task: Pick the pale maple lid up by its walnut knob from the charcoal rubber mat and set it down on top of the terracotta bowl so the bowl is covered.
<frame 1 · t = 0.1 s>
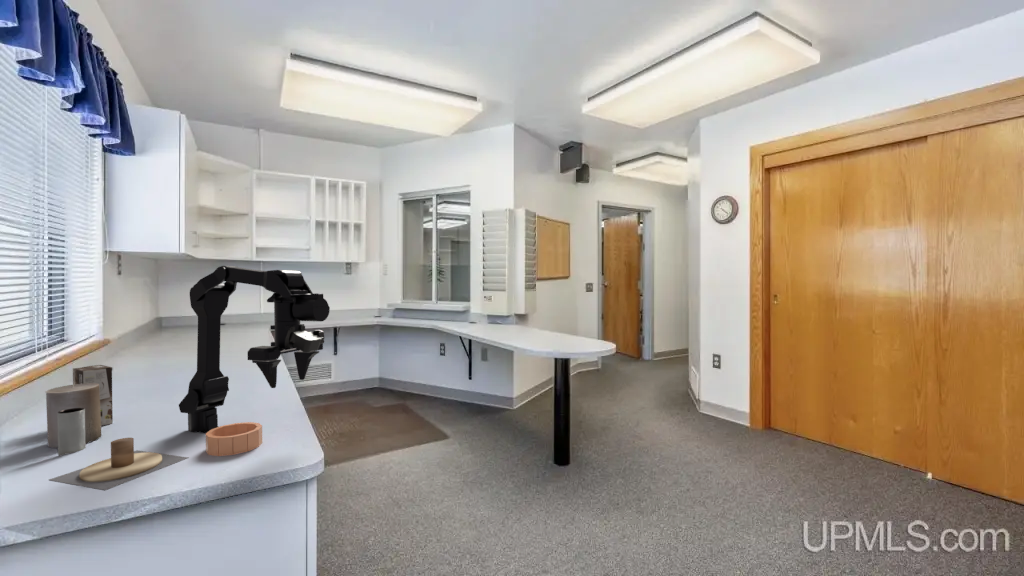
hand: (288, 383, 110), 15 cm above the counter, fingers open, 9 cm apart
bowl: (234, 450, 105), on the counter
coffee box: (93, 424, 126), on the counter
mat: (122, 472, 93), on the counter
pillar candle: (74, 442, 112), on the counter
lid: (122, 468, 93), point 1 cm above the counter, touching mat
planter: (72, 455, 103), on the counter
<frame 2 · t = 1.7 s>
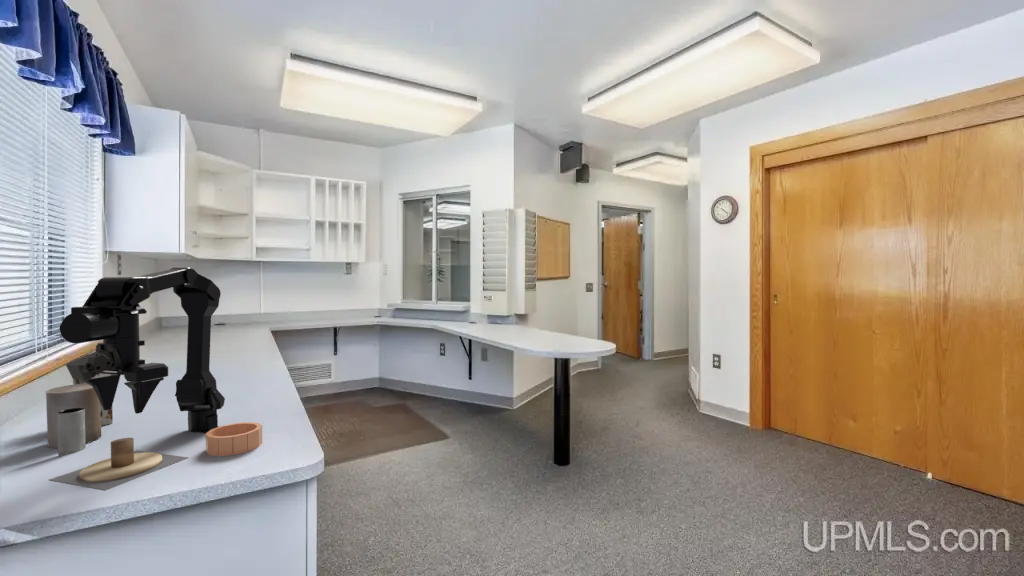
hand: (122, 411, 93), 13 cm above the counter, fingers open, 9 cm apart
nothing on the counter moved.
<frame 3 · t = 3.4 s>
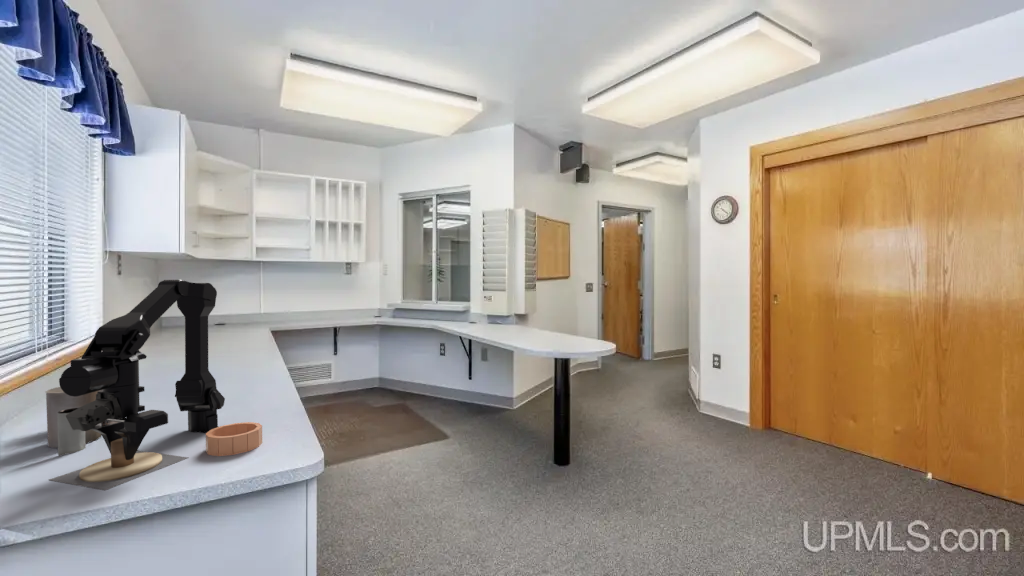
hand: (122, 458, 93), 3 cm above the counter, fingers closed on lid, 4 cm apart
lid: (122, 468, 93), point 1 cm above the counter, touching gripper, mat
everything else where it was.
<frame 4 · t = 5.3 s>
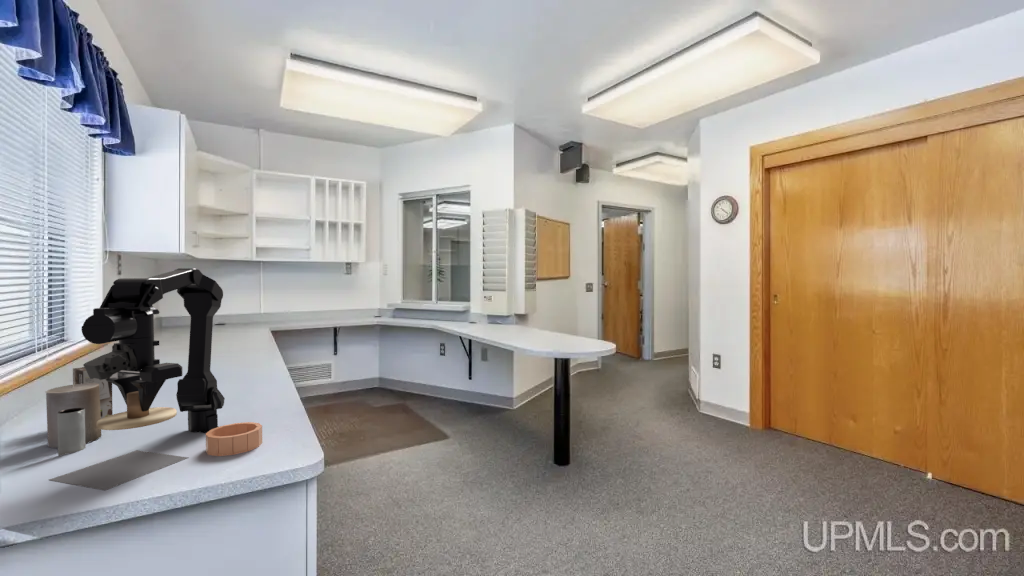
hand: (138, 410, 95), 13 cm above the counter, fingers closed on lid, 4 cm apart
lid: (138, 419, 95), point 11 cm above the counter, touching gripper
everything else where it was.
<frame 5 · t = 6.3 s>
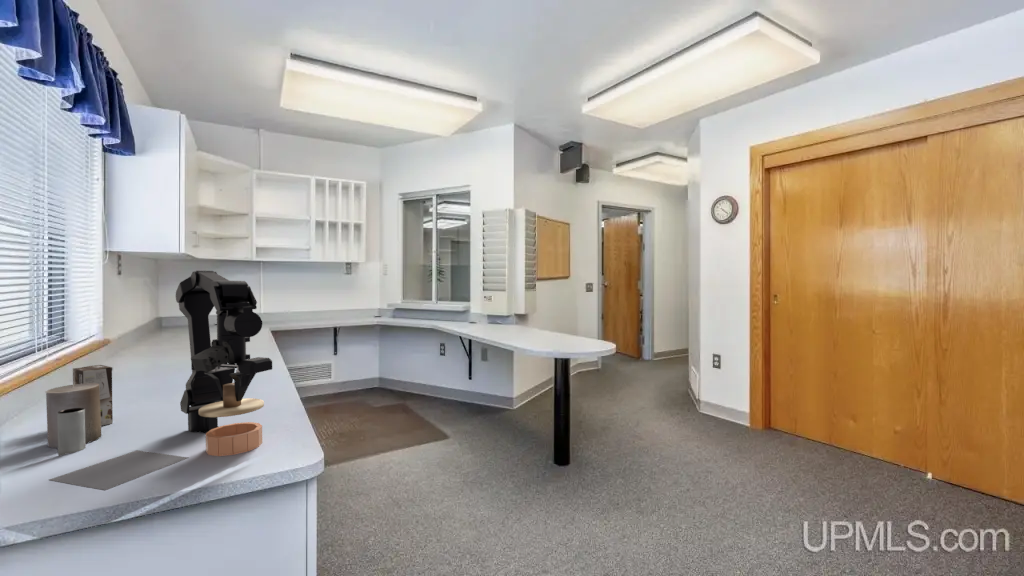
hand: (232, 400, 105), 12 cm above the counter, fingers closed on lid, 4 cm apart
lid: (232, 408, 105), point 10 cm above the counter, touching gripper
everything else where it was.
when the fingers open (8 cm above the counter, at t = 7.2 s): lid drops 1 cm, resting on bowl.
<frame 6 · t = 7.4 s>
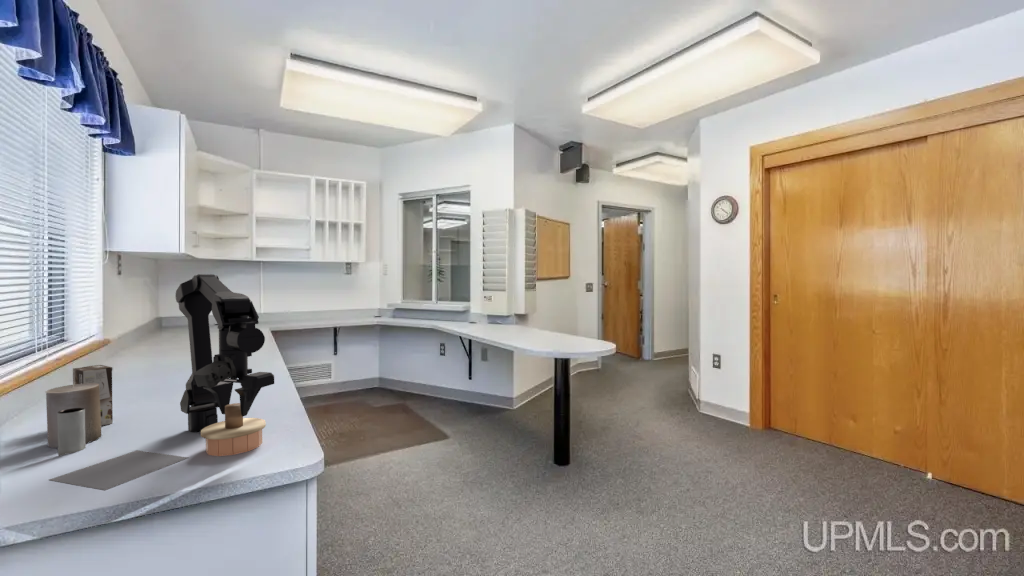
hand: (234, 414, 105), 8 cm above the counter, fingers open, 6 cm apart
bowl: (234, 450, 105), on the counter, touching lid
lid: (234, 429, 105), point 5 cm above the counter, touching bowl
everything else where it was.
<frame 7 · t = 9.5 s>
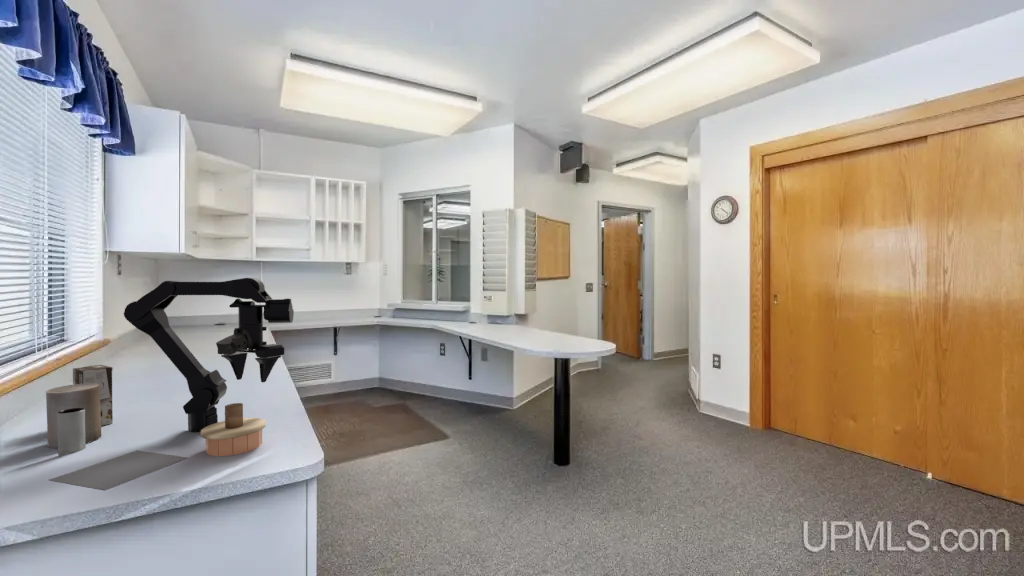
hand: (251, 380, 121), 13 cm above the counter, fingers open, 9 cm apart
nothing on the counter moved.
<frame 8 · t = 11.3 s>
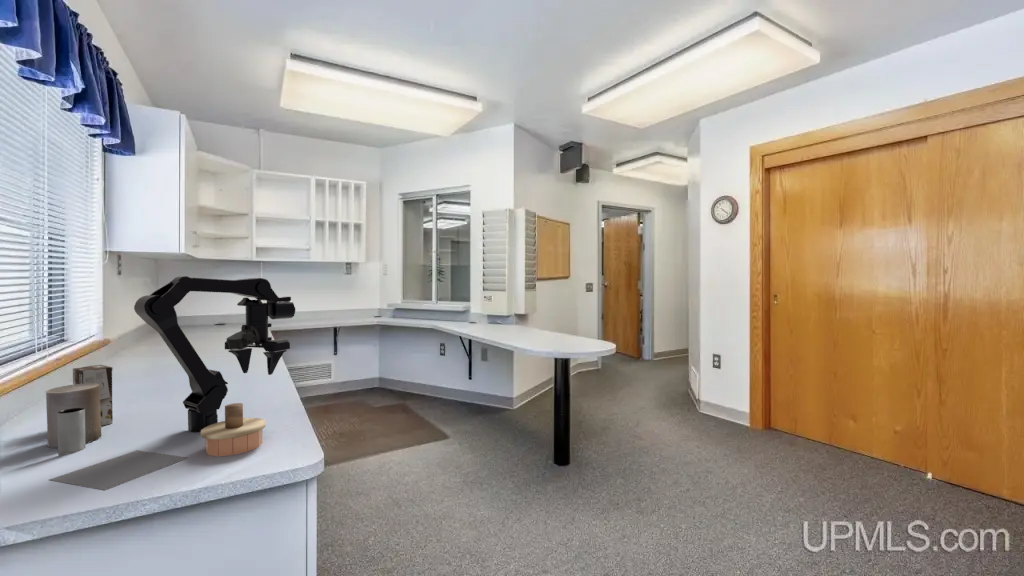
hand: (257, 373, 130), 13 cm above the counter, fingers open, 9 cm apart
nothing on the counter moved.
at the end: lid 0.1 cm from the bowl (horizontally); lid point 5.0 cm above the counter; lid tilted 0° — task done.
